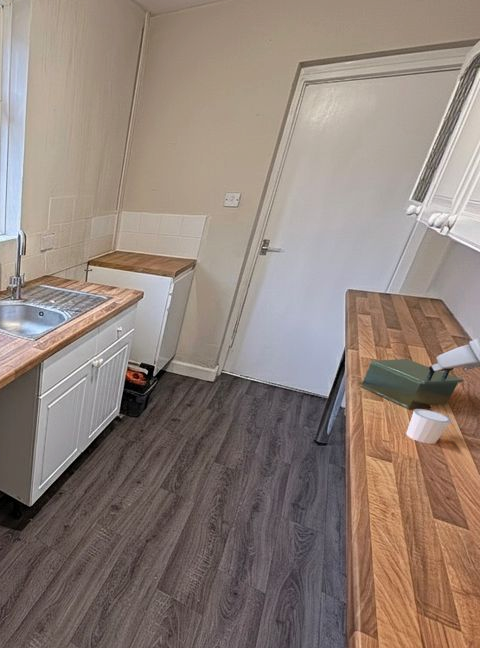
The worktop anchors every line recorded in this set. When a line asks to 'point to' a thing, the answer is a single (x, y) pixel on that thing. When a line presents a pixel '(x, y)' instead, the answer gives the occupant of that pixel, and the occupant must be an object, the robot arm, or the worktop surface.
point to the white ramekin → (427, 426)
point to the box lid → (417, 371)
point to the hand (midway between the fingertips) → (449, 367)
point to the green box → (405, 389)
